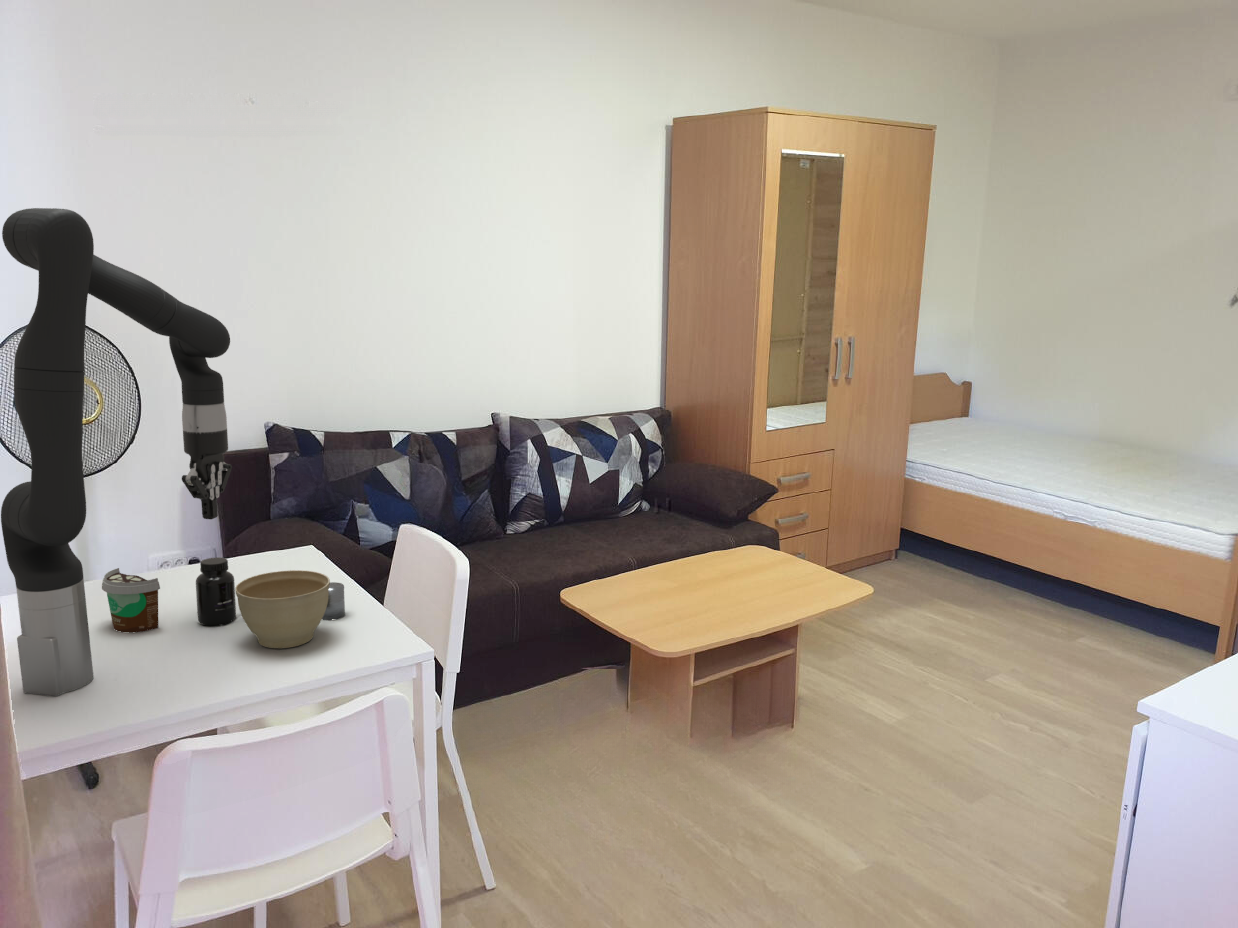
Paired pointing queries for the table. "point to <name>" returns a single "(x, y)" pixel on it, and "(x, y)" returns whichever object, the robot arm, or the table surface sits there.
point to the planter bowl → (283, 606)
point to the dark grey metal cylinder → (335, 602)
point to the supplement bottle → (215, 593)
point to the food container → (131, 601)
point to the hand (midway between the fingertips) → (210, 518)
